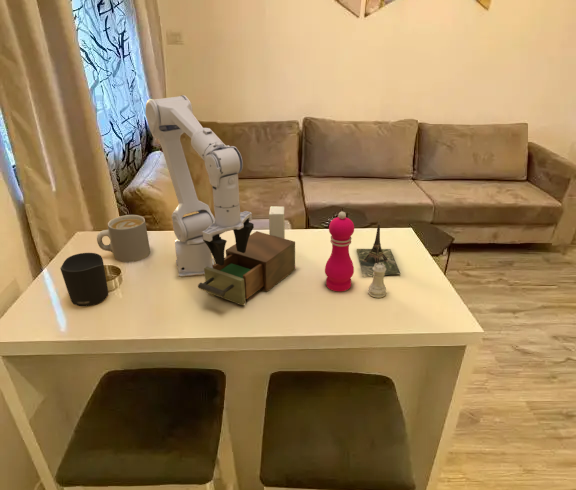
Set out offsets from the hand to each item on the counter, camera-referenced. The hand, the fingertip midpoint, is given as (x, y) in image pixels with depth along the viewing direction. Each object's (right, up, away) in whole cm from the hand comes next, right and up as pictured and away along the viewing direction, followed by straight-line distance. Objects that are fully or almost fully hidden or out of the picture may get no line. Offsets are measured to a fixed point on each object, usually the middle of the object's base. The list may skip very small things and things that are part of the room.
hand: (230, 257), depth 114 cm
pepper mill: (+26, -7, +9) cm, 29 cm away
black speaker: (-35, -10, +5) cm, 37 cm away
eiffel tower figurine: (+38, -1, +19) cm, 43 cm away
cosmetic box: (+10, +3, +27) cm, 29 cm away
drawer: (0, -8, +5) cm, 10 cm away
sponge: (+1, -7, +6) cm, 9 cm away
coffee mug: (-33, +1, +25) cm, 41 cm away
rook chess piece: (+35, -9, +5) cm, 37 cm away
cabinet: (+7, -4, +14) cm, 16 cm away
